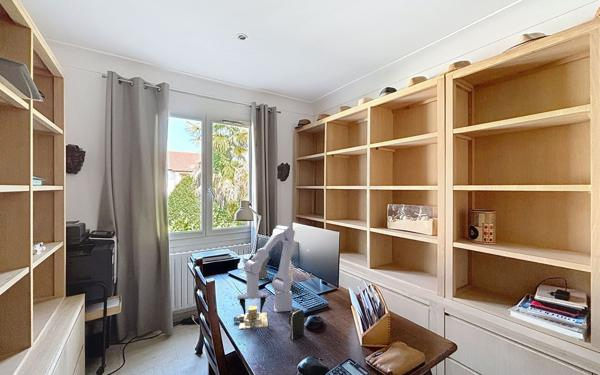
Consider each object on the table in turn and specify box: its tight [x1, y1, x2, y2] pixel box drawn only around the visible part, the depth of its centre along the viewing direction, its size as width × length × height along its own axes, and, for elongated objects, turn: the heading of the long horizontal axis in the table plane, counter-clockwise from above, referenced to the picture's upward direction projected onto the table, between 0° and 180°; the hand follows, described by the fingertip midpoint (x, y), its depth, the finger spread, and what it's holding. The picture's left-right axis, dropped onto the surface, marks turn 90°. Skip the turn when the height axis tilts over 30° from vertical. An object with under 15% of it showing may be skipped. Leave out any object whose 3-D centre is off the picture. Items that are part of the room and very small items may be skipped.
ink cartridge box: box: [288, 263, 294, 285], centre depth 169 cm, size 9×5×15 cm, turn 148°
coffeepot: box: [248, 255, 272, 279], centre depth 187 cm, size 15×9×18 cm, turn 88°
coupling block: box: [247, 305, 258, 320], centre depth 127 cm, size 4×5×6 cm
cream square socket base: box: [233, 311, 269, 331], centre depth 126 cm, size 16×15×3 cm
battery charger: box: [288, 308, 305, 341], centre depth 115 cm, size 7×4×11 cm, turn 134°
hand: (252, 313), depth 128 cm, fingers open, 7 cm apart
